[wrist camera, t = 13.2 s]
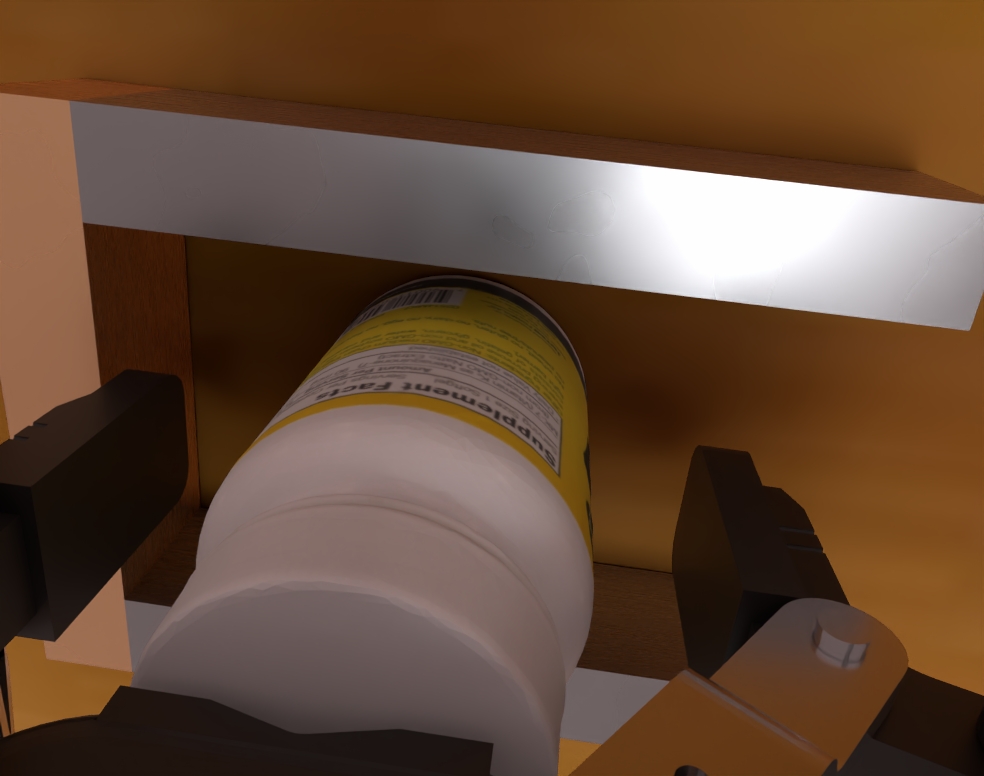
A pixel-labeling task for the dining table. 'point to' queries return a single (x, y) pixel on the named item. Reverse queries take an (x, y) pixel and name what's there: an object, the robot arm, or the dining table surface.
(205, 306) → the dining table surface
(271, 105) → the frame
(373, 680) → the supplement bottle
